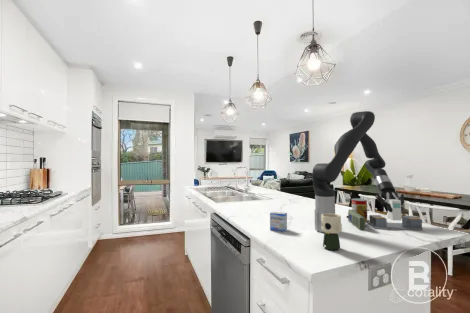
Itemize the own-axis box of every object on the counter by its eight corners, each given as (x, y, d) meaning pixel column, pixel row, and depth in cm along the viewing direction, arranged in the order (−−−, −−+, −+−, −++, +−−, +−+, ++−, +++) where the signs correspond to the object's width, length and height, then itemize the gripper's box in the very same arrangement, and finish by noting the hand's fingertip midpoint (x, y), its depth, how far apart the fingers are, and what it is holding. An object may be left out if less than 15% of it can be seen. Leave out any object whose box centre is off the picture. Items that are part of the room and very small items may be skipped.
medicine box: (269, 230, 117) (269, 213, 117) (271, 228, 121) (271, 211, 121) (285, 232, 114) (285, 214, 114) (287, 229, 118) (286, 212, 118)
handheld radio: (358, 230, 115) (344, 218, 140) (365, 231, 115) (350, 219, 139) (358, 217, 116) (344, 207, 140) (366, 217, 115) (350, 207, 140)
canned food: (370, 221, 133) (370, 200, 133) (358, 222, 131) (358, 200, 131) (360, 218, 140) (359, 198, 141) (349, 219, 138) (348, 198, 139)
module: (392, 220, 118) (392, 200, 119) (387, 217, 124) (387, 199, 124) (401, 220, 118) (400, 200, 118) (396, 218, 123) (395, 199, 123)
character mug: (315, 244, 96) (314, 213, 96) (329, 242, 98) (328, 211, 98) (333, 254, 85) (333, 219, 86) (349, 252, 87) (348, 217, 88)
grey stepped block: (374, 228, 118) (374, 218, 118) (367, 223, 127) (367, 214, 127) (422, 230, 114) (422, 219, 115) (412, 225, 123) (411, 215, 124)
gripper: (372, 180, 130) (383, 206, 118) (400, 180, 127) (414, 207, 115) (369, 189, 135) (379, 215, 123) (396, 189, 133) (408, 215, 120)
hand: (396, 211), depth 119 cm, fingers closed on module, 4 cm apart
